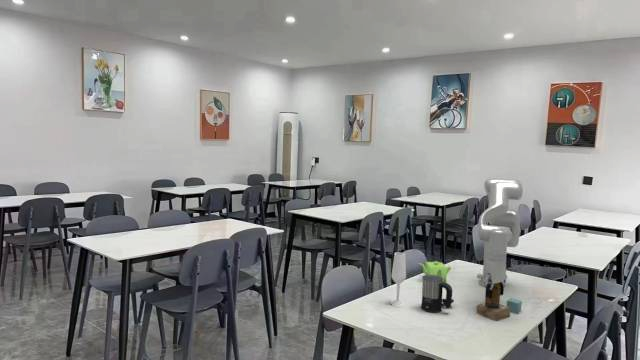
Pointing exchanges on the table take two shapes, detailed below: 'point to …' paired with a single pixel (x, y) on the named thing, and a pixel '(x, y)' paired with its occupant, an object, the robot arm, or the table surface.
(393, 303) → the champagne flute
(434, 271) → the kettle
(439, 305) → the milk frother
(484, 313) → the block
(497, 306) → the condiment
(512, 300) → the teal cube
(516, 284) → the table surface
